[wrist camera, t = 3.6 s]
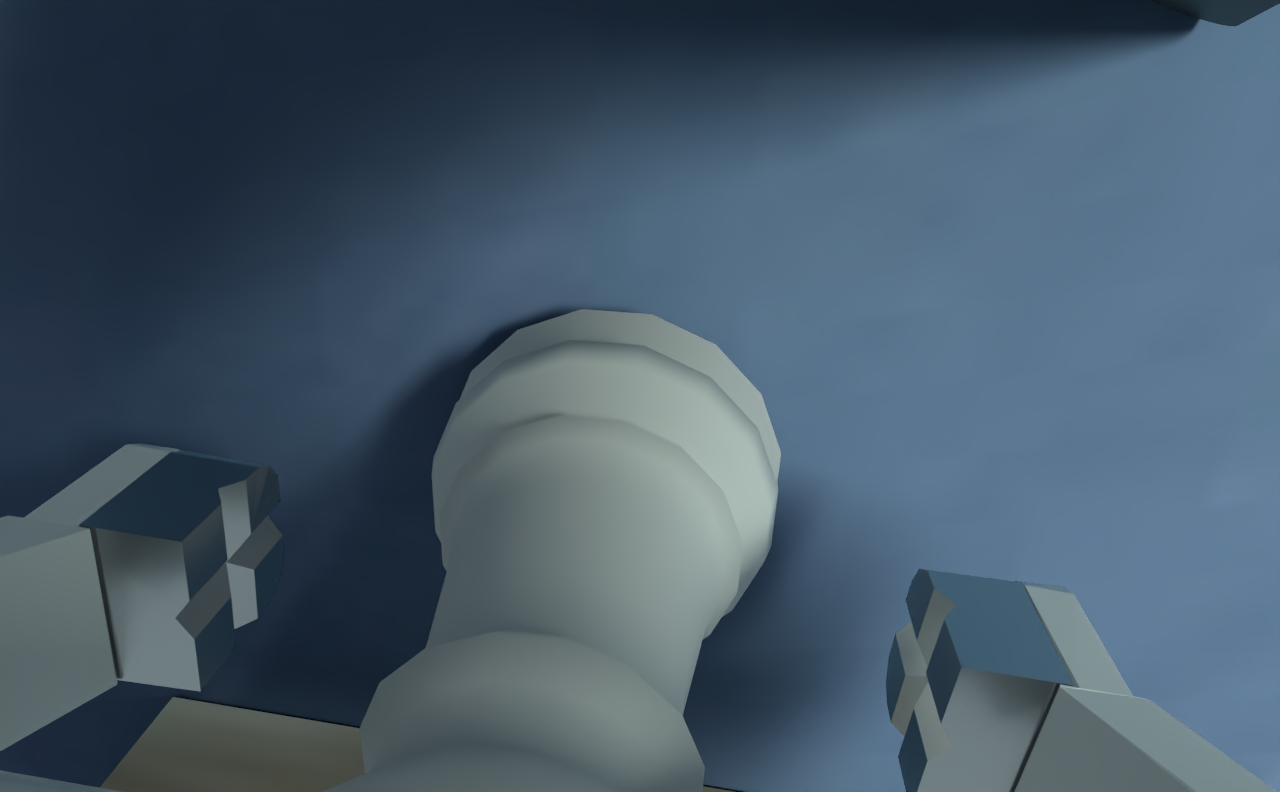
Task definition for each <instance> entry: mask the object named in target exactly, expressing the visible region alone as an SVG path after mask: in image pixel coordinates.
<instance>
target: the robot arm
mask: <svg viewBox="0 0 1280 792" xmlns="http://www.w3.org/2000/svg"><path fill="white" fill-rule="evenodd" d="M279 502H280V493H279V484H278V475H277V474H276V473H275V471H274V470H273V469H272V468H271V467H270V466H269V465H264V464H258V463H253V462H247V461H242V460H236V459H230V458H225V457H219V456H213V455H208V454H202V453H197V452H191V451H185V450H183V451H180V450H178V449H176V448H169V447H162V446H155V445H148V444H141V443H139V444H126V445H125V446H123V447H122V448H120V449H119V450H118V451H116V452H115V453H113V454H112V455H111V456H109V457H108V458H106V459H105V460H104V461H102V462H101V463H99V464H98V465H97V466H95V467H94V468H92V469H91V470H90V471H88V472H87V473H86V474H84V475H83V476H81V477H80V478H79V479H77V480H76V481H74V482H73V483H72V484H70V485H69V486H67V487H66V488H65V489H63V490H62V491H60V492H59V493H58V494H56V495H55V496H53V497H52V498H51V499H49V500H48V501H46V502H45V503H44V504H42V505H41V506H39V507H38V508H37V509H35V510H34V511H32V512H31V513H30V514H28V515H27V516H25V517H24V518H22V517H15V516H5V517H2V518H0V751H2V750H4V749H5V748H7V747H9V746H11V745H12V744H14V743H16V742H18V741H19V740H21V739H23V738H25V737H26V736H28V735H30V734H32V733H33V732H35V731H37V730H39V729H40V728H42V727H44V726H46V725H47V724H49V723H51V722H53V721H54V720H56V719H58V718H60V717H61V716H63V715H65V714H67V713H68V712H70V711H72V710H74V709H75V708H77V707H79V706H81V705H82V704H84V703H86V702H88V701H89V700H91V699H93V698H95V697H96V696H98V695H100V694H102V693H103V692H105V691H107V690H109V689H110V688H112V687H114V686H116V685H117V683H118V682H117V680H121V681H128V682H135V683H142V684H149V685H157V686H164V687H171V688H178V689H185V690H193V691H200V692H201V691H202V689H203V688H204V687H205V686H206V684H207V683H208V682H209V680H210V679H211V678H212V677H213V675H214V674H215V673H216V671H217V670H218V669H219V668H220V666H221V665H222V664H223V663H224V661H225V660H226V659H227V657H228V656H229V655H230V654H231V652H232V651H233V650H234V649H235V647H236V642H235V631H234V629H236V628H238V627H241V626H243V625H245V624H247V623H249V622H251V621H253V620H256V619H258V617H259V616H260V615H261V613H262V612H263V611H264V609H265V608H266V607H267V605H268V604H269V602H270V601H271V599H272V597H273V594H274V592H275V589H276V587H277V584H278V581H279V579H280V576H281V571H282V563H283V556H284V551H283V535H282V534H281V532H280V531H279V530H278V529H277V527H276V526H275V525H274V523H273V522H272V521H271V519H270V518H269V517H268V515H269V514H270V513H271V512H272V510H273V509H274V508H275V507H276V506H277V504H278V503H279ZM906 603H907V607H908V610H909V614H910V618H911V621H912V622H910V623H909V624H908V625H906V626H905V627H903V628H902V629H901V630H899V631H898V632H897V633H895V637H894V640H893V644H892V648H891V651H890V655H889V659H888V669H887V678H886V694H887V706H888V711H889V716H890V721H891V723H892V724H893V725H894V726H895V727H896V728H897V729H898V730H899V731H900V732H901V733H902V734H903V735H904V740H903V743H902V746H901V749H900V752H899V755H898V758H899V763H900V767H901V771H902V776H903V780H904V785H905V789H906V792H1277V791H1275V790H1274V789H1273V788H1271V787H1270V786H1268V785H1267V784H1266V783H1264V782H1263V781H1262V780H1260V779H1259V778H1257V777H1256V776H1255V775H1253V774H1252V773H1251V772H1249V771H1248V770H1246V769H1245V768H1244V767H1242V766H1241V765H1239V764H1238V763H1237V762H1235V761H1234V760H1233V759H1231V758H1230V757H1228V756H1227V755H1226V754H1224V753H1223V752H1222V751H1220V750H1219V749H1217V748H1216V747H1215V746H1213V745H1212V744H1210V743H1209V742H1208V741H1206V740H1205V739H1204V738H1202V737H1201V736H1199V735H1198V734H1197V733H1195V732H1194V731H1193V730H1191V729H1190V728H1188V727H1187V726H1186V725H1184V724H1183V723H1181V722H1180V721H1179V720H1177V719H1176V718H1175V717H1173V716H1172V715H1170V714H1169V713H1168V712H1166V711H1165V710H1163V709H1162V708H1161V707H1159V706H1158V705H1157V704H1155V703H1154V702H1152V701H1151V700H1150V699H1145V698H1139V697H1133V695H1132V693H1131V692H1130V690H1129V688H1128V687H1127V685H1126V683H1125V681H1124V680H1123V678H1122V676H1121V674H1120V673H1119V671H1118V669H1117V668H1116V666H1115V664H1114V662H1113V661H1112V659H1111V657H1110V656H1109V654H1108V652H1107V650H1106V649H1105V647H1104V645H1103V643H1102V642H1101V640H1100V638H1099V637H1098V635H1097V633H1096V631H1095V630H1094V628H1093V626H1092V625H1091V623H1090V621H1089V619H1088V618H1087V616H1086V614H1085V613H1084V611H1083V609H1082V607H1081V606H1080V604H1079V602H1078V600H1077V599H1076V597H1075V595H1074V594H1073V593H1072V592H1070V591H1069V590H1067V589H1066V588H1064V587H1060V586H1051V585H1043V584H1035V583H1026V582H1018V581H1015V582H1014V581H1006V580H999V579H992V578H984V577H977V576H969V575H962V574H954V573H947V572H940V571H932V570H925V569H919V570H918V571H917V573H916V575H915V576H914V578H913V580H912V582H911V585H910V588H909V591H908V594H907V598H906ZM0 792H122V791H117V790H111V789H105V788H99V787H94V786H88V785H82V784H76V783H70V782H65V781H59V780H53V779H47V778H42V777H36V776H30V775H24V774H19V773H13V772H7V771H1V770H0Z"/></svg>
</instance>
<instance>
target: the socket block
mask: <svg viewBox="0 0 1280 792" xmlns="http://www.w3.org/2000/svg"><path fill="white" fill-rule="evenodd" d="M362 774H365V770H364V762H363V754H362V746H361V738H360V730H359V728H355V727H349V726H343V725H337V724H331V723H325V722H319V721H313V720H307V719H301V718H295V717H289V716H283V715H277V714H272V713H266V712H260V711H254V710H248V709H242V708H236V707H230V706H224V705H218V704H212V703H206V702H200V701H194V700H189V699H183V698H177V697H172V699H171V700H170V701H169V702H168V704H167V705H166V706H165V707H164V709H163V710H162V711H161V712H160V713H159V715H158V716H157V717H156V718H155V720H154V721H153V722H152V723H151V725H150V726H149V727H148V728H147V730H146V731H145V732H144V733H143V734H142V736H141V737H140V738H139V739H138V741H137V742H136V743H135V744H134V746H133V747H132V748H131V749H130V751H129V752H128V753H127V754H126V755H125V757H124V758H123V759H122V760H121V762H120V763H119V764H118V765H117V767H116V768H115V769H114V770H113V772H112V773H111V774H110V775H109V776H108V778H107V779H106V780H105V781H104V783H103V784H102V785H101V786H100V788H105V789H111V790H117V791H122V792H323V791H325V790H328V789H330V788H332V787H335V786H337V785H339V784H342V783H344V782H346V781H348V780H351V779H353V778H355V777H358V776H360V775H362ZM703 792H734V791H728V790H722V789H716V788H710V787H704V786H703Z"/></svg>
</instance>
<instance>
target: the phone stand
mask: <svg viewBox="0 0 1280 792" xmlns="http://www.w3.org/2000/svg"><path fill="white" fill-rule="evenodd" d="M1151 1H1154V2H1157V3H1159V4H1162V5H1164V6H1167V7H1169V8H1172V9H1174V10H1177V11H1179V12H1182V13H1184V14H1187V15H1190V16H1193V17H1196V18H1199V19H1202V20H1205V21H1209V22H1213V23H1217V24H1221V25H1227V26H1237V25H1239V24H1241V23H1243V22H1245V21H1247V20H1249V19H1251V18H1252V17H1254V16H1256V15H1258V14H1260V13H1262V12H1264V11H1266V10H1268V9H1270V8H1271V7H1273V6H1275V5H1277V4H1279V3H1280V0H1151Z"/></svg>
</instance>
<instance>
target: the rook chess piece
mask: <svg viewBox="0 0 1280 792" xmlns="http://www.w3.org/2000/svg"><path fill="white" fill-rule="evenodd" d="M780 458H781V452H780V449H779V446H778V443H777V440H776V437H775V434H774V431H773V428H772V425H771V422H770V419H769V416H768V413H767V410H766V407H765V404H764V401H763V398H762V395H761V393H760V392H759V391H758V390H757V389H756V388H755V387H754V386H753V385H752V384H751V382H750V381H749V380H748V379H747V378H746V377H745V376H744V375H743V374H742V373H741V372H740V370H739V369H738V368H737V367H736V366H735V365H734V364H733V363H732V362H731V361H730V360H729V358H728V357H727V356H726V355H725V354H724V353H723V352H722V351H721V350H720V349H719V347H718V346H717V345H715V344H713V343H711V342H709V341H707V340H705V339H703V338H701V337H699V336H697V335H694V334H692V333H690V332H688V331H686V330H684V329H682V328H680V327H678V326H676V325H674V324H671V323H669V322H667V321H665V320H663V319H661V318H659V317H657V316H655V315H653V314H641V313H627V312H614V311H600V310H587V309H581V310H577V311H574V312H571V313H568V314H565V315H562V316H559V317H556V318H553V319H549V320H546V321H543V322H540V323H537V324H534V325H531V326H528V327H525V328H521V329H518V330H517V331H516V332H515V333H513V334H512V335H511V336H510V337H509V338H508V339H507V340H506V341H504V342H503V343H502V344H501V345H500V346H499V347H498V348H497V349H496V350H494V351H493V352H492V353H491V354H490V355H489V356H488V357H487V358H485V359H484V360H483V361H482V362H481V363H480V364H479V365H478V366H477V367H475V368H474V369H473V370H472V371H471V373H470V376H469V378H468V380H467V383H466V385H465V388H464V390H463V392H462V395H461V397H460V400H459V401H457V402H456V404H455V406H454V409H453V411H452V414H451V416H450V418H449V421H448V423H447V426H446V428H445V431H444V433H443V435H442V438H441V440H440V443H439V445H438V448H437V450H436V452H435V455H434V457H433V467H432V487H433V503H434V518H435V532H436V534H437V536H438V538H439V540H440V542H441V546H442V562H443V566H444V568H445V570H446V576H445V580H444V583H443V587H442V591H441V594H440V598H439V602H438V605H437V609H436V613H435V616H434V620H433V623H432V627H431V631H430V634H429V638H428V642H427V645H426V647H425V649H424V650H422V651H421V652H420V653H418V654H417V655H416V656H414V657H413V658H412V659H410V660H409V661H408V662H406V663H405V664H404V665H402V666H401V667H400V668H398V669H397V670H396V671H394V672H393V673H391V674H390V675H389V676H387V677H386V678H385V679H383V680H382V681H381V682H380V683H379V685H378V687H377V690H376V692H375V694H374V696H373V699H372V701H371V703H370V705H369V708H368V710H367V712H366V715H365V717H364V719H363V721H362V724H361V726H360V728H359V730H360V738H361V746H362V754H363V762H364V770H365V774H362V775H360V776H358V777H355V778H353V779H351V780H348V781H346V782H344V783H342V784H339V785H337V786H335V787H332V788H330V789H328V790H325V791H323V792H703V783H704V773H705V766H704V764H703V761H702V759H701V757H700V755H699V752H698V750H697V748H696V745H695V743H694V741H693V739H692V736H691V734H690V732H689V730H688V727H687V725H686V723H685V720H684V718H683V713H684V709H685V705H686V701H687V697H688V693H689V690H690V686H691V682H692V678H693V674H694V670H695V667H696V663H697V659H698V655H699V651H700V648H701V644H702V640H703V639H704V638H706V637H708V636H709V635H710V634H711V633H712V631H713V630H714V628H715V627H716V625H717V624H718V622H719V620H720V619H721V617H723V616H724V615H726V614H728V613H729V612H731V611H732V610H733V609H734V607H735V606H736V604H737V603H738V601H739V600H740V598H741V597H742V595H743V594H744V592H745V591H746V589H747V588H748V586H749V584H750V583H751V581H752V580H753V578H754V577H755V575H756V574H757V572H758V571H759V569H760V568H761V566H762V565H763V563H764V561H765V559H766V557H767V555H768V552H769V550H770V548H771V543H772V536H773V528H774V520H775V512H776V504H777V496H778V485H777V481H778V474H779V466H780Z"/></svg>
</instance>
